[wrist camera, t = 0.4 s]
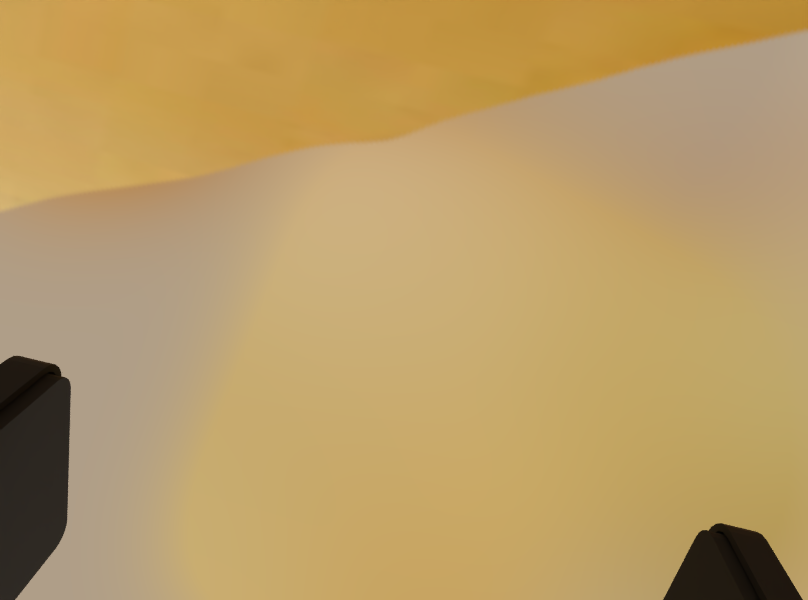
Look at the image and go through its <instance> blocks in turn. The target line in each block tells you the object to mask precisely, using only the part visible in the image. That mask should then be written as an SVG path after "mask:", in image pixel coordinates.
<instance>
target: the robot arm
mask: <svg viewBox="0 0 808 600" xmlns="http://www.w3.org/2000/svg"><path fill="white" fill-rule="evenodd" d="M70 390H71V386H70V382H69V380H68V379H67V378H65V377H61V371H60V369H59V367H58V366H56V365H55V364H50V363H46V362H42V361H38V360H34V359H30V358H25V357H21V356H13V357H11V358H9V359H7V360H6V361H4V362H3V363H1V364H0V600H15V599H16V598H17V597H18V595H19V594H20V593H21V591H22V590H23V589H24V588H25V586H26V585H27V584H28V583H29V581H30V580H31V579H32V578H33V576H34V575H35V574H36V572H37V571H38V570H39V569H40V567H41V566H42V565H43V564H44V562H45V561H46V560H47V559H48V557H49V556H50V555H51V553H52V552H53V551H54V550H55V548H56V547H57V545H58V544H59V542H60V540H61V538H62V536H63V534H64V531H65V528H66V524H67V504H68V468H69V430H70V429H69V428H70V395H71V391H70ZM663 600H803V599H802V598H801V596H800V595H799V593H798V591H797V590H796V588H795V586H794V585H793V583H792V582H791V580H790V578H789V576H788V575H787V573H786V571H785V570H784V568H783V567H782V565H781V563H780V562H779V560H778V558H777V557H776V555H775V553H774V552H773V550H772V548H771V547H770V545H769V544H768V542H767V540H766V539H765V538H764V537H763V535H762V534H760V533H758V532H755V531H751V530H747V529H742V528H738V527H734V526H730V525H726V524H722V523H720V524H715V525H714V526H712V527H711V529H710V530H709V531H707V530H702V531H701V532H699V533H698V535H697V536H696V538H695V540H694V542H693V544H692V545H691V547H690V549H689V551H688V553H687V555H686V557H685V559H684V561H683V563H682V565H681V567H680V569H679V570H678V572H677V574H676V576H675V578H674V580H673V582H672V584H671V586H670V588H669V590H668V592H667V594H666V596H665V597H664V599H663Z"/></svg>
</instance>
